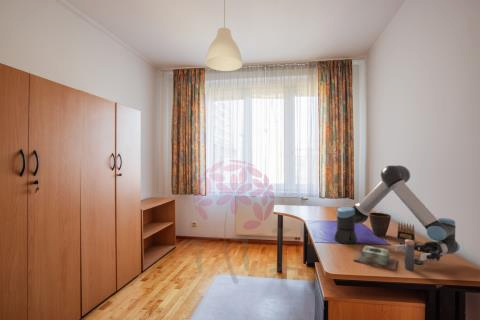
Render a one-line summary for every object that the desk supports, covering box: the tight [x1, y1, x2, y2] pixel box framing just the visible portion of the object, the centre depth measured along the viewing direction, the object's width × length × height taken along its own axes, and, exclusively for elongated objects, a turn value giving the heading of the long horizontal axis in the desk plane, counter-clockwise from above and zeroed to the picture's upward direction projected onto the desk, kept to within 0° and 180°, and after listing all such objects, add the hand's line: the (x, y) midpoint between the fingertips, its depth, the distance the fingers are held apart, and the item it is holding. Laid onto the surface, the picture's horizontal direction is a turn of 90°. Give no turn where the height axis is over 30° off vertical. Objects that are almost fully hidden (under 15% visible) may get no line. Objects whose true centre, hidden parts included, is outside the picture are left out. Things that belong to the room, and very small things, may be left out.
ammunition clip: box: [397, 221, 416, 242], centre depth 179 cm, size 11×2×12 cm, turn 41°
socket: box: [352, 245, 398, 271], centre depth 138 cm, size 20×16×6 cm
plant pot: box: [368, 212, 392, 237], centre depth 189 cm, size 15×15×16 cm
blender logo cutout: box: [414, 258, 424, 265], centre depth 139 cm, size 9×8×1 cm
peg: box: [404, 239, 415, 272], centre depth 128 cm, size 4×4×15 cm
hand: (407, 252), depth 127 cm, fingers open, 13 cm apart
